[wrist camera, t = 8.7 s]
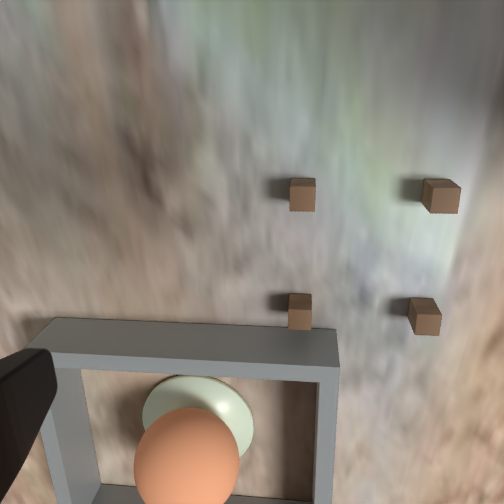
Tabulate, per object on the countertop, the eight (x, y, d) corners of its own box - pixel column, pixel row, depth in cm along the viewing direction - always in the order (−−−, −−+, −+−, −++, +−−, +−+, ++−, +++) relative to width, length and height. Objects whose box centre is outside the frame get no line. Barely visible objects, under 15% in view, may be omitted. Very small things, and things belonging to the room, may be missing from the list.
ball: (242, 387, 23) (231, 466, 19) (245, 463, 25) (234, 552, 20) (146, 384, 24) (111, 461, 19) (155, 458, 26) (125, 544, 21)
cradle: (449, 179, 19) (461, 187, 17) (430, 318, 21) (439, 335, 20) (291, 178, 19) (289, 186, 18) (289, 312, 22) (288, 329, 20)
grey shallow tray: (335, 329, 22) (340, 367, 19) (325, 513, 26) (327, 566, 23) (55, 317, 23) (21, 350, 21) (90, 492, 28) (65, 539, 25)
